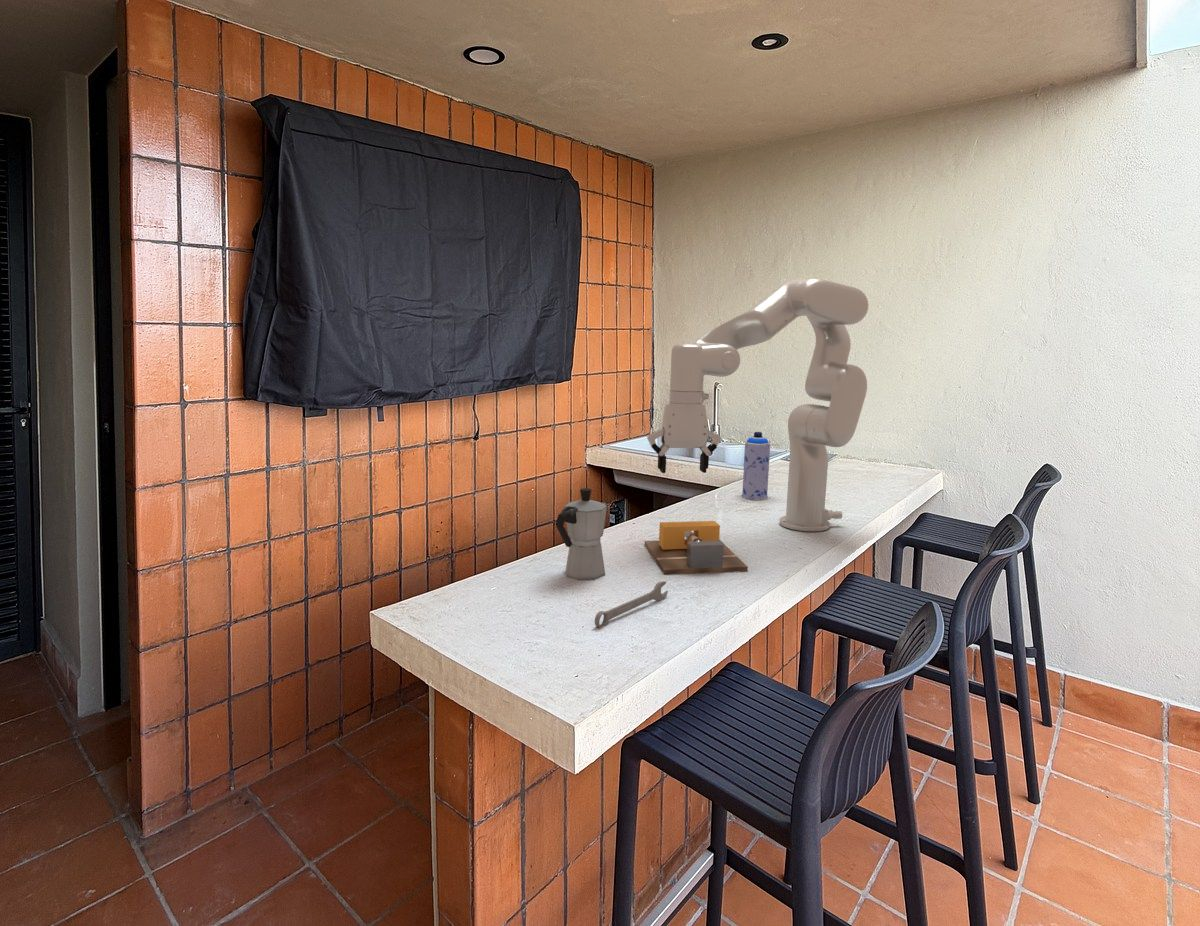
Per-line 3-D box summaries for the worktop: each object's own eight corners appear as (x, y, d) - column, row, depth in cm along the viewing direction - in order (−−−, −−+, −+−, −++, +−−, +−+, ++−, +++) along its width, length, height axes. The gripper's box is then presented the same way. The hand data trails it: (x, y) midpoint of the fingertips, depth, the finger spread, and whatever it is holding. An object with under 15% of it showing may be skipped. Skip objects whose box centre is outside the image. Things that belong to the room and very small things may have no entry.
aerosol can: (754, 493, 217) (758, 429, 213) (773, 498, 211) (777, 433, 207) (736, 496, 213) (739, 431, 209) (754, 501, 207) (758, 434, 203)
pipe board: (718, 542, 167) (718, 538, 166) (747, 571, 147) (747, 566, 147) (644, 545, 164) (644, 540, 164) (664, 574, 145) (664, 569, 144)
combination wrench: (598, 612, 117) (671, 580, 132) (592, 610, 118) (666, 578, 132) (598, 633, 118) (671, 598, 132) (593, 631, 119) (665, 596, 133)
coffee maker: (588, 560, 153) (589, 480, 149) (620, 569, 147) (622, 486, 144) (541, 579, 141) (540, 492, 138) (573, 589, 136) (574, 500, 132)
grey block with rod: (697, 540, 165) (698, 520, 164) (722, 567, 146) (723, 544, 145) (668, 541, 164) (669, 520, 163) (690, 568, 145) (690, 545, 144)
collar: (713, 542, 162) (714, 520, 161) (718, 547, 158) (719, 525, 157) (658, 544, 160) (659, 522, 159) (662, 549, 156) (663, 527, 155)
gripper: (717, 397, 164) (713, 468, 167) (645, 396, 162) (643, 469, 165) (727, 400, 157) (723, 474, 160) (652, 399, 154) (649, 475, 158)
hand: (682, 471), depth 162 cm, fingers open, 9 cm apart
